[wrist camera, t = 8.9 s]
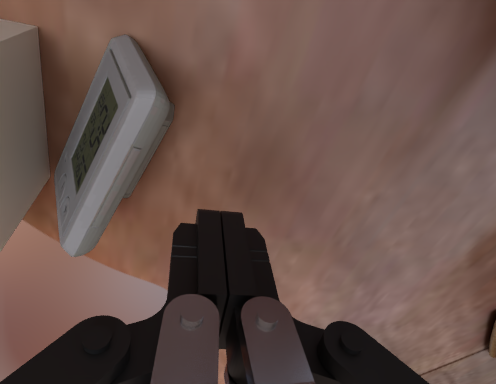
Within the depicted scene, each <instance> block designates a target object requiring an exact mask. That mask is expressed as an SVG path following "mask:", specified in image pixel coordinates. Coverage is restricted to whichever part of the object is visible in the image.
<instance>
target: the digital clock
mask: <svg viewBox="0 0 496 384" xmlns="http://www.w3.org/2000/svg"><path fill="white" fill-rule="evenodd" d="M174 108H175V105H174V104H173V103H171V102H169V99H168V97H167V95H166V93H165V91H164V89H163V87H162V85H161V83H160V82H159V80H158V78H157V76H156V75H155V73H154V71H153V69H152V67H151V66H150V64H149V62H148V60H147V59H146V57H145V55H144V53H143V52H142V50H141V48H140V47H139V45H138V44H137V42H136V41H135V40H134V39H133V38H131V37H130V36H128V35H122V36H118V37H115V38H112V39H111V40H110V42H109V44H108V46H107V49H106V51H105V53H104V56H103V58H102V60H101V62H100V65H99V67H98V70H97V72H96V74H95V77H94V79H93V81H92V84H91V86H90V88H89V91H88V93H87V96H86V98H85V100H84V103H83V105H82V107H81V110H80V112H79V114H78V117H77V119H76V121H75V124H74V126H73V129H72V131H71V133H70V136H69V138H68V140H67V143H66V145H65V147H64V150H63V152H62V155H61V157H60V159H59V162H58V164H57V167H56V170H55V174H54V182H55V193H56V204H57V216H58V227H59V237H60V244H61V247H62V248H63V249H64V250H65V251H66V252H67V253H68V254H69V255H70V256H71V257H72V256H74V257H77V256H81V255H84V254H86V253H88V252H89V251H91V250H92V249H93V248H94V247H95V246H96V244H97V243H98V241H99V239H100V237H101V236H102V234H103V232H104V230H105V229H106V227H107V225H108V223H109V221H110V220H111V218H112V216H113V214H114V212H115V210H116V209H117V207H118V205H119V203H120V201H121V200H122V198H128V197H130V196H131V194H132V192H133V190H134V189H135V187H136V185H137V183H138V181H139V180H140V178H141V176H142V174H143V172H144V171H145V169H146V167H147V165H148V164H149V162H150V160H151V158H152V156H153V155H154V153H155V151H156V149H157V148H158V146H159V144H160V142H161V140H162V139H163V137H164V135H165V133H166V131H167V130H168V128H169V126H170V124H171V123H172V121H173V117H174Z"/></svg>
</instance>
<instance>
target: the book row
mask: <svg viewBox="0 0 496 384" xmlns="http://www.w3.org/2000/svg"><path fill="white" fill-rule="evenodd" d="M49 178H50V165H49V154H48V142H47V130H46V118H45V107H44V95H43V83H42V71H41V60H40V48H39V36H38V26H33V25H28V24H23V23H19V22H14V21H9V20H4V19H0V252H1V251H2V249H3V248H4V246H5V245H6V243H7V241H8V240H9V238H10V237H11V235H12V234H13V232H14V231H15V229H16V228H17V226H18V225H19V223H20V222H21V220H22V219H23V217H24V216H25V214H26V213H27V211H28V210H29V208H30V207H31V205H32V204H33V202H34V201H35V199H36V197H37V196H38V194H39V193H40V191H41V190H42V188H43V187H44V185H45V184H46V182H47V181H48V179H49Z"/></svg>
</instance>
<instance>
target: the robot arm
mask: <svg viewBox="0 0 496 384" xmlns="http://www.w3.org/2000/svg"><path fill="white" fill-rule="evenodd" d="M219 349H226V355H227V364H226V367H225V371H224V379H225V384H429V383H428V382H427V381H425V380H424V379H423V378H422V377H421V376H419V375H418V374H417V373H416V372H414V371H413V370H412V369H411V368H409V367H408V366H407V365H406V364H404V363H403V362H402V361H401V360H399V359H398V358H397V357H396V356H394V355H393V354H392V353H391V352H390V351H388V350H387V349H386V348H385V347H383V346H382V345H381V344H380V343H378V342H377V341H376V340H375V339H373V338H372V337H371V336H370V335H368V334H367V333H366V332H365V331H364V330H362V329H361V328H359V327H358V326H356V325H354V324H352V323H349V322H345V321H336V322H333V323H331V324H329V325H328V326H327V327H326V329H325V330H323V329H320V328H317V327H314V326H311V325H308V324H305V323H302V322H300V321H298V320H296V319H295V318H293V317H292V316H291V314H290V312H289V310H288V309H287V308H286V307H285V306H284V305H283V304H282V303H281V302H280V301H279V297H278V293H277V289H276V285H275V281H274V277H273V273H272V269H271V264H270V263H269V256H268V253H267V248H266V244H265V240H264V238H263V237H262V235H261V234H260V233H259V232H258V230H257V229H255V228H245V224H244V218H243V214H242V213H239V212H228V211H215V210H203V209H198V211H197V216H196V223H195V224H188V223H181V224H180V225H179V226H178V227H177V229H176V230H175V231H174V233H173V242H172V252H171V262H170V272H169V283H168V294H167V300H166V303H165V305H164V306H163V308H162V309H161V310H160V311H159V312H158V313H156V314H155V315H154V316H152V317H150V318H148V319H146V320H143V321H139V322H136V323H132V324H128V325H126V324H125V323H124V322H122V321H121V320H120V319H118V318H115V317H112V316H104V315H103V316H95V317H91V318H88V319H85V320H84V321H82V322H80V323H79V324H77V325H75V326H74V327H73V328H71V329H70V330H69V331H67V332H66V333H65V334H63V335H62V336H61V337H59V338H58V339H57V340H56V341H54V342H53V343H51V344H50V345H49V346H48V347H46V348H45V349H44V350H42V351H41V352H40V353H38V354H37V355H36V356H34V357H33V358H32V359H30V360H29V361H28V362H26V363H25V364H24V365H22V366H21V367H20V368H19V369H17V370H16V371H14V372H13V373H12V374H11V375H9V376H8V377H6V378H5V379H4V380H3V381H1V382H0V384H218V357H219Z"/></svg>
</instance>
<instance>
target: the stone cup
mask: <svg viewBox="0 0 496 384" xmlns="http://www.w3.org/2000/svg"><path fill="white" fill-rule="evenodd" d="M489 355H490V356H491V357H493V358H495V357H496V320H495V323H494V327H493V330H492V334H491V338H490V343H489Z"/></svg>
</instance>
